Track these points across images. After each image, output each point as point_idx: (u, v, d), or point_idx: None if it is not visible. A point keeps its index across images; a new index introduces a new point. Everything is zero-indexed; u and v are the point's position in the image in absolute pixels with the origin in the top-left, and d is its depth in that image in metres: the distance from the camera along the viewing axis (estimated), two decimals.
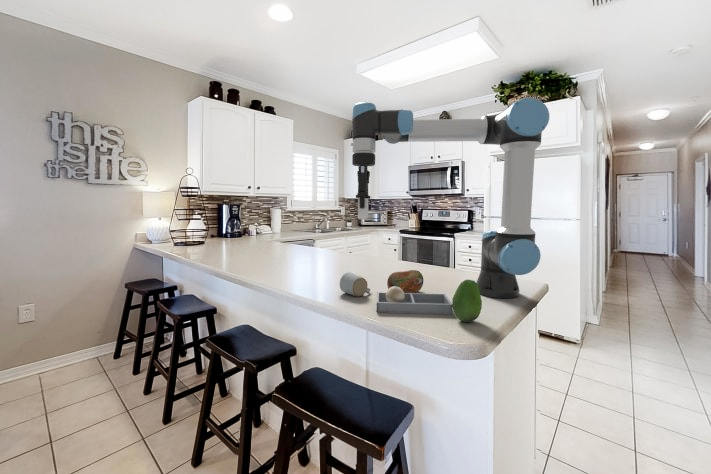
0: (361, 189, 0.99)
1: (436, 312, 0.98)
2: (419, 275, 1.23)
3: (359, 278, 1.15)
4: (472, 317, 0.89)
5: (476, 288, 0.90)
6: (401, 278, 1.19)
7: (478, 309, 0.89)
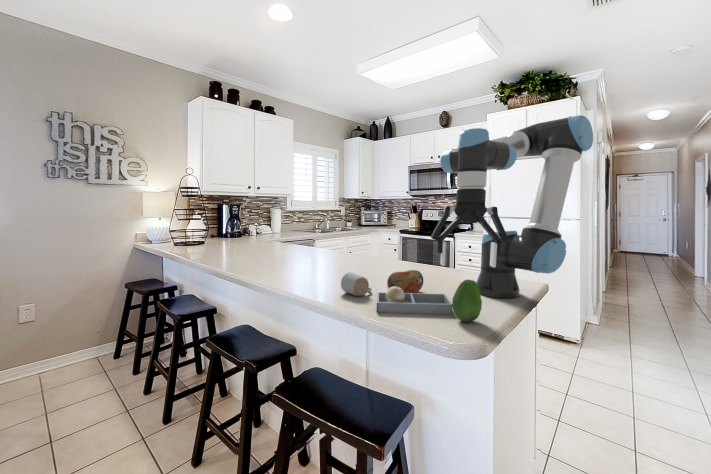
0: (433, 232, 0.91)
1: (436, 312, 0.98)
2: (419, 275, 1.23)
3: (360, 278, 1.16)
4: (472, 317, 0.89)
5: (476, 288, 0.90)
6: (401, 278, 1.19)
7: (478, 309, 0.89)
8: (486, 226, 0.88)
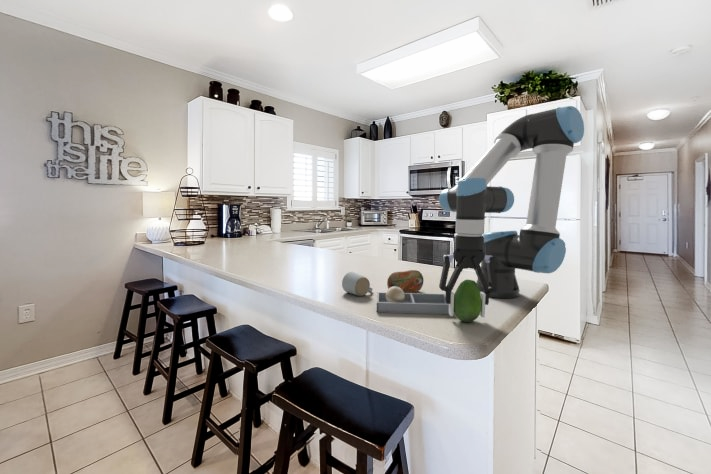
0: (440, 283, 0.92)
1: (436, 312, 0.98)
2: (419, 275, 1.23)
3: (361, 278, 1.16)
4: (471, 317, 0.89)
5: (476, 288, 0.90)
6: (401, 278, 1.19)
7: (478, 309, 0.89)
8: (480, 274, 0.90)
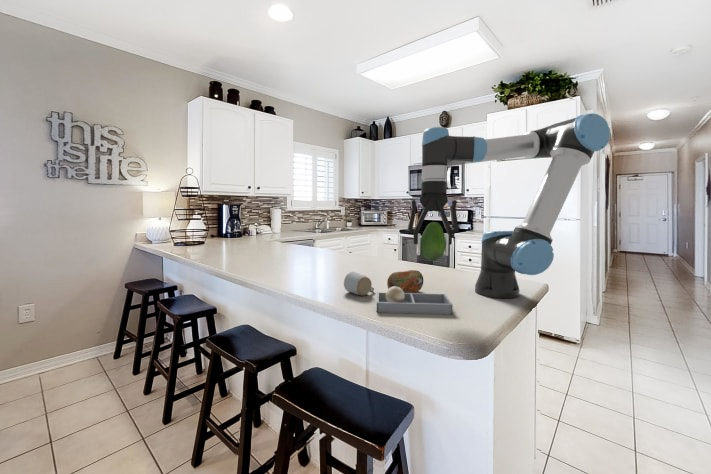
0: (408, 225, 1.02)
1: (436, 312, 0.98)
2: (419, 275, 1.23)
3: (363, 277, 1.16)
4: (436, 255, 0.99)
5: (440, 229, 1.00)
6: (401, 278, 1.19)
7: (441, 247, 0.99)
8: (443, 216, 1.00)
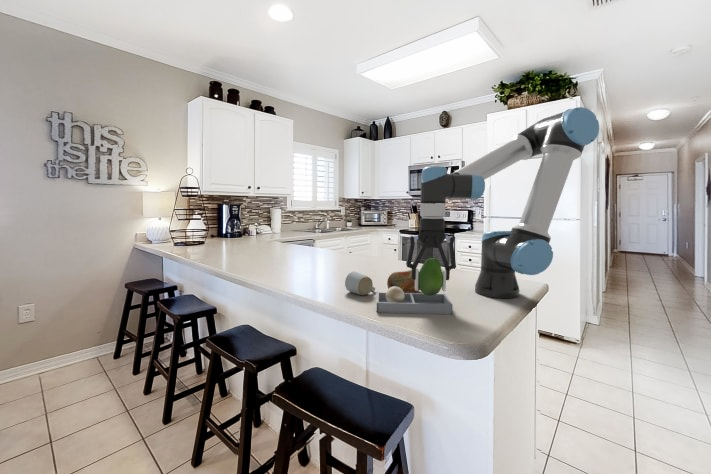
0: (407, 260, 1.04)
1: (436, 312, 0.98)
2: None
3: (364, 277, 1.17)
4: (433, 291, 1.00)
5: (438, 265, 1.01)
6: (401, 278, 1.19)
7: (439, 283, 1.00)
8: (441, 253, 1.01)
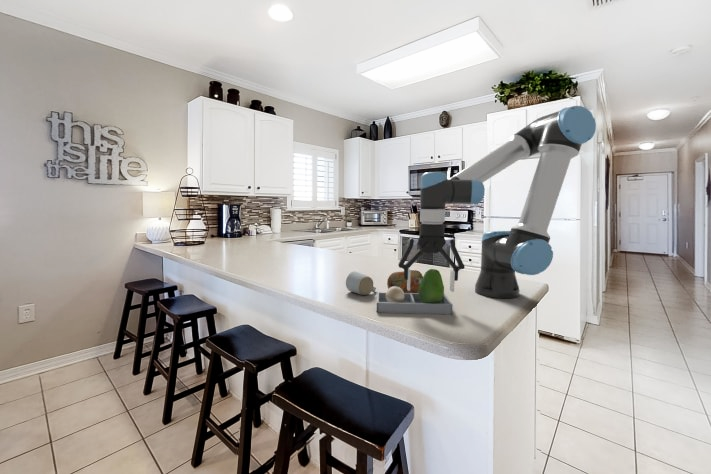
0: (400, 261, 1.04)
1: (436, 312, 0.98)
2: (419, 275, 1.23)
3: (365, 277, 1.17)
4: (435, 302, 1.01)
5: (439, 276, 1.01)
6: (401, 278, 1.19)
7: (440, 295, 1.00)
8: (445, 256, 1.01)
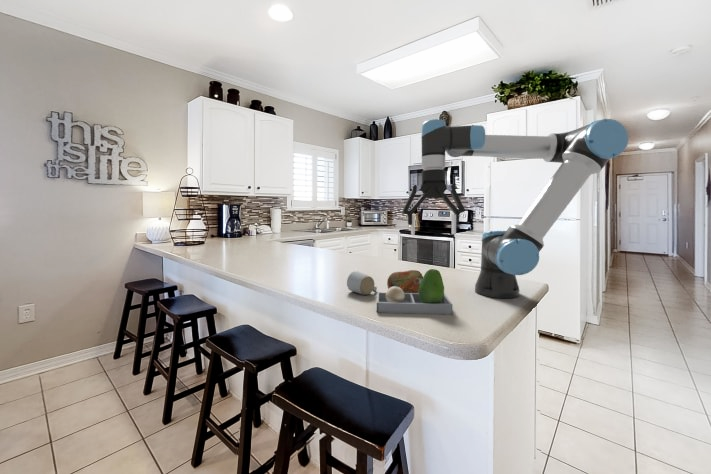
0: (404, 207, 1.09)
1: (436, 312, 0.98)
2: (419, 275, 1.23)
3: (366, 277, 1.17)
4: (435, 302, 1.01)
5: (439, 276, 1.01)
6: (401, 278, 1.19)
7: (440, 295, 1.00)
8: (447, 200, 1.07)
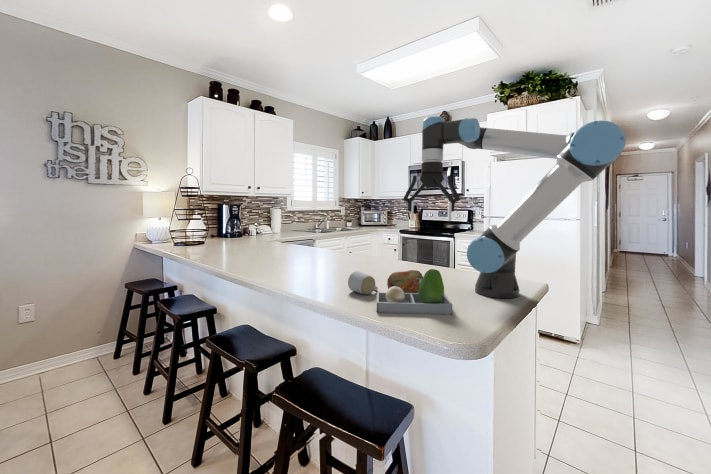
0: None
1: (436, 312, 0.98)
2: (419, 275, 1.23)
3: (367, 277, 1.18)
4: (435, 302, 1.01)
5: (439, 276, 1.01)
6: (401, 278, 1.19)
7: (440, 295, 1.00)
8: (443, 190, 1.19)
